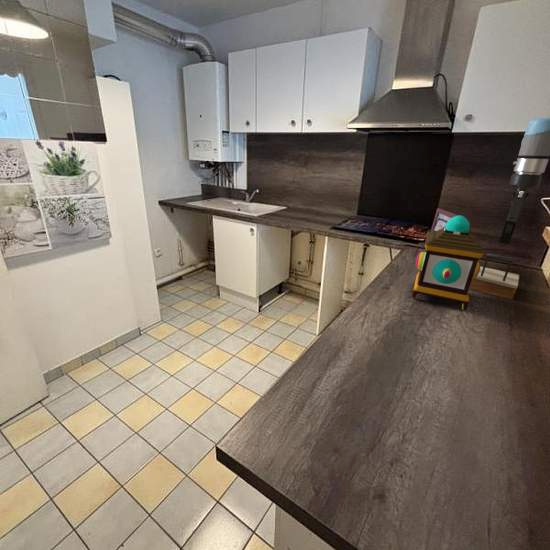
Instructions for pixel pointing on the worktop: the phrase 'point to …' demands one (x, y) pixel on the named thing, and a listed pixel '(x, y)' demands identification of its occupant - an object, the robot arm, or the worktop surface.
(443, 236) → the decorative lantern
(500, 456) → the worktop surface
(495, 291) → the open wooden box
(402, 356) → the worktop surface
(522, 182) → the robot arm
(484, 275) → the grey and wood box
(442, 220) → the picture frame
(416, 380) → the worktop surface
